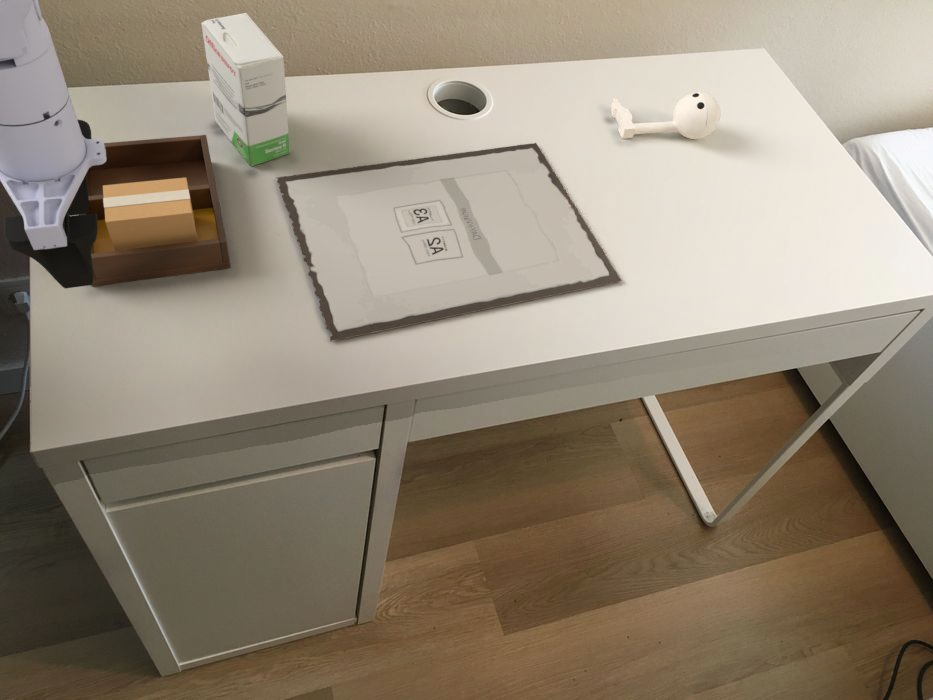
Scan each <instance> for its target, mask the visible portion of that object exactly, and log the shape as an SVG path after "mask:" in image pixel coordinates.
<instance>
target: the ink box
mask: <svg viewBox="0 0 933 700" xmlns="http://www.w3.org/2000/svg"><path fill="white" fill-rule="evenodd" d="M201 29H202V36H203V44H204V51H205V56H206V63H207V70H208V78H209V85H210V92H211V98H212V99H211V100H212V107H213V113H214V121H215V123H216V124H217V126H219V128H220V129H221V131H222V132H223V133H224V134H225V135H226V137H227V138H228V139H229V141H230V142H231V143H232V145H234V147H235V149H237V151H238V152H239V153H240V155H241V156H242V157H243V158H244V160H245V161H246V163H248V165H249V166H251V167H253V166H257V165H260V164H262V163H266V162H269V161H272V160H274V159H277V158H280V157H283V156H285V155H288V154H290V153H291V151H290V149H291V148H290V138H289V137H290V136H289V135H290V134H289V122H288V120H289V119H288V106H287V91H286V90H287V89H286V75H285V74H286V72H285V60H284V59H285V58H284V56H283V54H282V53H281V52H280V51H279V50H278V48H277V47H276V46H275V45H274V43H272V41H271V40H270V39H269V38H268V37H267V36H266V34H265V33H264V32H263V30H262V29H260V27H259V26H258V25H257V24H256V23H255V21H253V19H252V18H251V17H250V16H249V13H248V12H244V13H237V14H232V15H228V16H222V17H215V18H210V19H207V20H204V21H201Z"/></svg>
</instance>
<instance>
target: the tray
mask: <svg viewBox="0 0 933 700" xmlns="http://www.w3.org/2000/svg"><path fill="white" fill-rule="evenodd" d="M207 137H208V136H207V134H200V135H187V136H186V135H185V136H175V137H164V138H163V137H162V138H161V137H160V138H150V139H137V140H125V141H113V142H112V141H111V142H104V145H105V149H106V159H107V160H106V162H105V163H104V164H101V165H94V166H91V167H90V168H89V169H88V171H87V173H86V178H87V187H88V197H89V213H88V214H95V213H97V224H98V231H97V237H96V240H95V242H94V244H93V246H92V249H91V256H92V263H93V284H92V285H90V286H91V287H97V286H104V285H112V284H120V283H127V282H135V281H142V280H150V279H158V278H165V277H167V278H168V277H174V276H181V275H188V274H195V273H203V272H204V273H205V272H211V271H212V272H213V271H218V270H220V271H221V270H227V269H231V268H232V266H231V260H230V259H231V258H230V254H229V253H230V252H229V247H228V241H227V235H226V230H225V225H224V220H223V215H222V211H221V205H220V199H219V195H218V189H217V184H216V179H215V174H214V169H213V164H212V158H211V153H210V147H209V142H208V138H207ZM175 178H187V183H188V188H189V193H190V199H191V204H192V209H193V214H194V219H195V226H196V232H197V238H198V241H193V242H185V243H176V244H168V245H160V246H151V247H143V248H135V249H126V250H118V251H115V250H114V247H113V244H112V241H111V238H110V234H109V231H108V228H107V225H106V222H105V209H104V203H103V198H104V196H103V185H113V184H123V183H134V182H144V181H154V180H165V179H175ZM80 215H86V214H80Z"/></svg>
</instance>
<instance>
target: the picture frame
mask: <svg viewBox="0 0 933 700" xmlns="http://www.w3.org/2000/svg"><path fill="white" fill-rule="evenodd" d="M276 179H277V180H276V183H277V184H278V185H280V186H278V188H279V192H280V193H281V194H282V196H281V198H282V200H283V202H284V204H285V206H284V207H285V208H286V209H287V211H288V212H289V215H288V217H289V219H290V220H291V221H292V223H291V226H292V227H293V228H292V230H293V233H294V236H295V237H296V238H297V239H296V241H297V242H298V244H299V247H300V250H301V254H302V255H304V257H303V262H305V263H306V264H307V266H308V270H309V271H308V274H307V275H308V276H309V277H311V280H312V285H313V287H314V289H315V291H314V295H315V296H316V297H319V300H318V303H319V307H318V308H319V311H320V312H321V315H322V317H323V319H324V324H325V326H326V327H325V329H326V330H328V331H331V335H330V336H329V342H335V341H340V340H343V339H344V340H345V339H349V338H354V337H358V336H363V335H368V334H373V333H378V332H382V331H387V330H391V329H392V330H393V329H397V328H401V327H406V326H407V327H408V326H412V325H416V324H421V323H426V322H431V321H436V320H441V319H445V318H451V317H454V316H459V315H460V316H461V315H464V314H465V315H466V314H470V313H474V312H475V313H476V312H479V311H480V312H481V311H484V310H489V309H494V308H499V307H503V306H508V305H513V304H518V303H522V302H528V301H532V300H537V299H543V298H547V297H552V296H556V295H561V294H566V293H571V292H576V291H581V290H585V289H586V290H587V289H590V288H595V287H600V286H605V285H610V284H616V283H620V282H623V281H622V279H621V277H620V275H619V274H618V272H617V271H616V269H614V267H613V265H612V263H611V262H610V260H609V258H608V257H607V255H606V253H605V252H604V249H603V248H602V246H601V245H600V243H599V242H598V240H597V239H596V237H595V235H594V233H592V232H591V229H590V228H589V226H588V224H587V223H586V221H585V220H584V218H583V215H581V214H580V212H579V210H578V208H577V206H576V205H575V203H573V201H572V199H571V197H570V196H569V194H568V193H567V190H566V189H565V188H564V185H563V184H562V182H561V180H560V179H559V177H558V176H557V174H556V172H555V171H554V170H553V168H552V166H551V165H550V163H549V161H548V160H547V158H546V155H544V153H543V152H542V150H541V148H540V146H539V144H537V142H533V143H523V144H516V145H511V146H501V147H494V148H488V149H487V148H486V149H480V150H473V151H465V152H457V153H450V154H449V153H448V154H442V155H434V156H428V157H426V156H425V157H419V158H415V159H413V158H411V159H405V160H397V161H389V162H382V163H375V164H368V165H359V166H353V167H345V168H338V169H330V170H322V171H315V172H307V173H300V174H293V175H285V176H279V177H276Z"/></svg>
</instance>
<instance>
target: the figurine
mask: <svg viewBox="0 0 933 700" xmlns="http://www.w3.org/2000/svg"><path fill="white" fill-rule="evenodd" d="M610 113H611V118H613V119H615V121H616V123H617V124H618V128H617V131H618V133H619V135H620V138H621V139H633V138H634V135H644V134H658V133H667V132H669V133H670V132H678V133H679V134H680V135H681V136H683V137H684V138H687V139H691V140H699V139H703V138H706V137H708V136H709V135H711V134H712V133H713V132H714V131H715V130H716V128H717V127H718V125H719V123H720V120H721V106H720V104H719V102H718V101H717V99H716V98H715V96H713V95H711V94H710V93H708V92H703V91H694V92H691V93H689V94H686V95H685V96H683V97H681V99H679V101H678V102H677V104H676V105H675V107H674V110H673V115H672V121H656V122H655V121H654V122H637V123H634V122H633V117H634V116H633V114H632V113H631V111H630V109H628V108H626V107H624V106H622V104H621V102H620V101H619V100H618V99H617V97H613V99H612V103H611V107H610Z"/></svg>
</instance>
